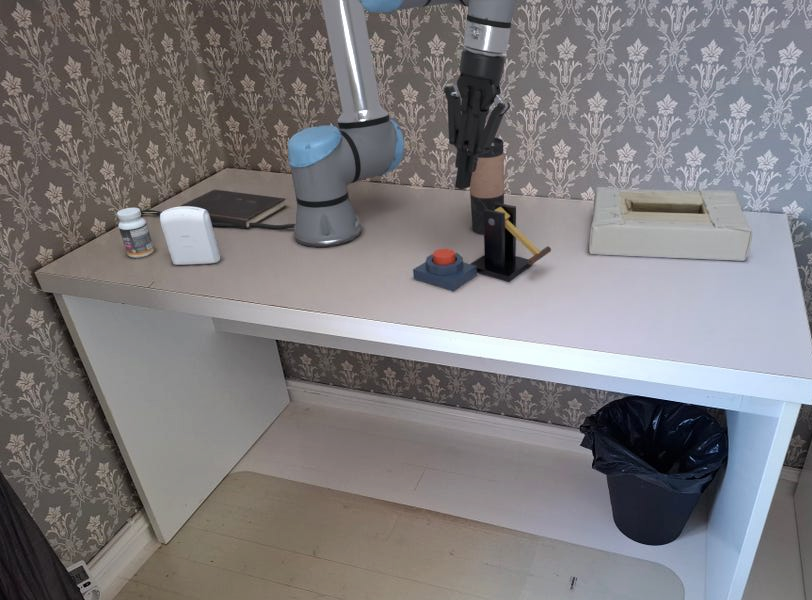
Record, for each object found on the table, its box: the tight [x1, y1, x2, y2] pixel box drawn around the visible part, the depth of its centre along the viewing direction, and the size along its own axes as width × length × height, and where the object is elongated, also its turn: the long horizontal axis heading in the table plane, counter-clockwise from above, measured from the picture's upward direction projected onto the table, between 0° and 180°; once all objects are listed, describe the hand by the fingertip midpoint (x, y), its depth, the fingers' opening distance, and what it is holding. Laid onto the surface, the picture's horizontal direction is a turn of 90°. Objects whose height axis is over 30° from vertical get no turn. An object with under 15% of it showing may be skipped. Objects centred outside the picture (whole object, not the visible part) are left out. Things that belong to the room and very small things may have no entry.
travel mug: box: [469, 137, 505, 235], centre depth 152 cm, size 8×8×20 cm
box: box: [588, 186, 753, 262], centre depth 148 cm, size 23×8×32 cm
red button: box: [432, 248, 456, 265], centre depth 134 cm, size 4×4×2 cm
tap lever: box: [494, 207, 552, 266], centre depth 133 cm, size 13×7×2 cm
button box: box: [412, 252, 478, 292], centre depth 136 cm, size 10×8×4 cm
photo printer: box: [159, 205, 221, 266], centre depth 144 cm, size 10×4×12 cm, turn 90°
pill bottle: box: [116, 207, 155, 259], centre depth 150 cm, size 6×6×10 cm
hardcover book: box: [178, 188, 288, 230], centre depth 172 cm, size 16×23×2 cm
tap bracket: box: [470, 203, 533, 283], centre depth 136 cm, size 10×9×13 cm
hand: (462, 187), depth 127 cm, fingers closed
